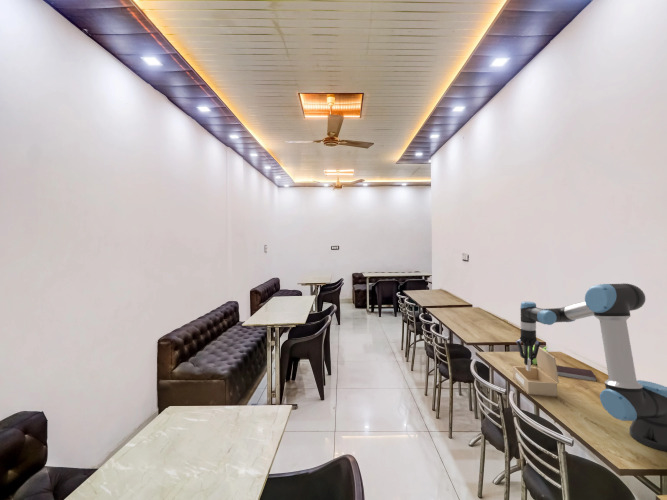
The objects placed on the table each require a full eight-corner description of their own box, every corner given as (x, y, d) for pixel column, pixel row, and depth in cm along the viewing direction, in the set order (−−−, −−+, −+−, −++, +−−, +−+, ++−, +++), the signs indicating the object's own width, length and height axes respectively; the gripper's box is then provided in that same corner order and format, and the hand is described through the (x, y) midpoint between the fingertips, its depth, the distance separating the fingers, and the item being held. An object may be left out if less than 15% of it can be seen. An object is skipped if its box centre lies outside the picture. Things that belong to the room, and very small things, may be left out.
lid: (557, 382, 169) (559, 382, 168) (553, 357, 169) (555, 357, 169) (537, 366, 191) (539, 366, 191) (534, 344, 191) (535, 344, 191)
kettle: (523, 357, 228) (523, 341, 228) (547, 360, 221) (547, 344, 220) (522, 363, 216) (522, 347, 215) (547, 368, 208) (548, 350, 208)
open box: (557, 396, 169) (557, 383, 169) (528, 394, 172) (528, 381, 171) (538, 379, 191) (538, 367, 191) (512, 377, 193) (512, 366, 193)
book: (553, 369, 207) (553, 364, 207) (590, 374, 198) (591, 369, 198) (556, 376, 196) (556, 371, 196) (596, 382, 187) (596, 376, 187)
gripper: (537, 327, 184) (537, 368, 184) (513, 327, 186) (513, 367, 186) (543, 331, 176) (544, 373, 177) (518, 330, 178) (518, 372, 179)
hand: (528, 370), depth 181 cm, fingers closed
